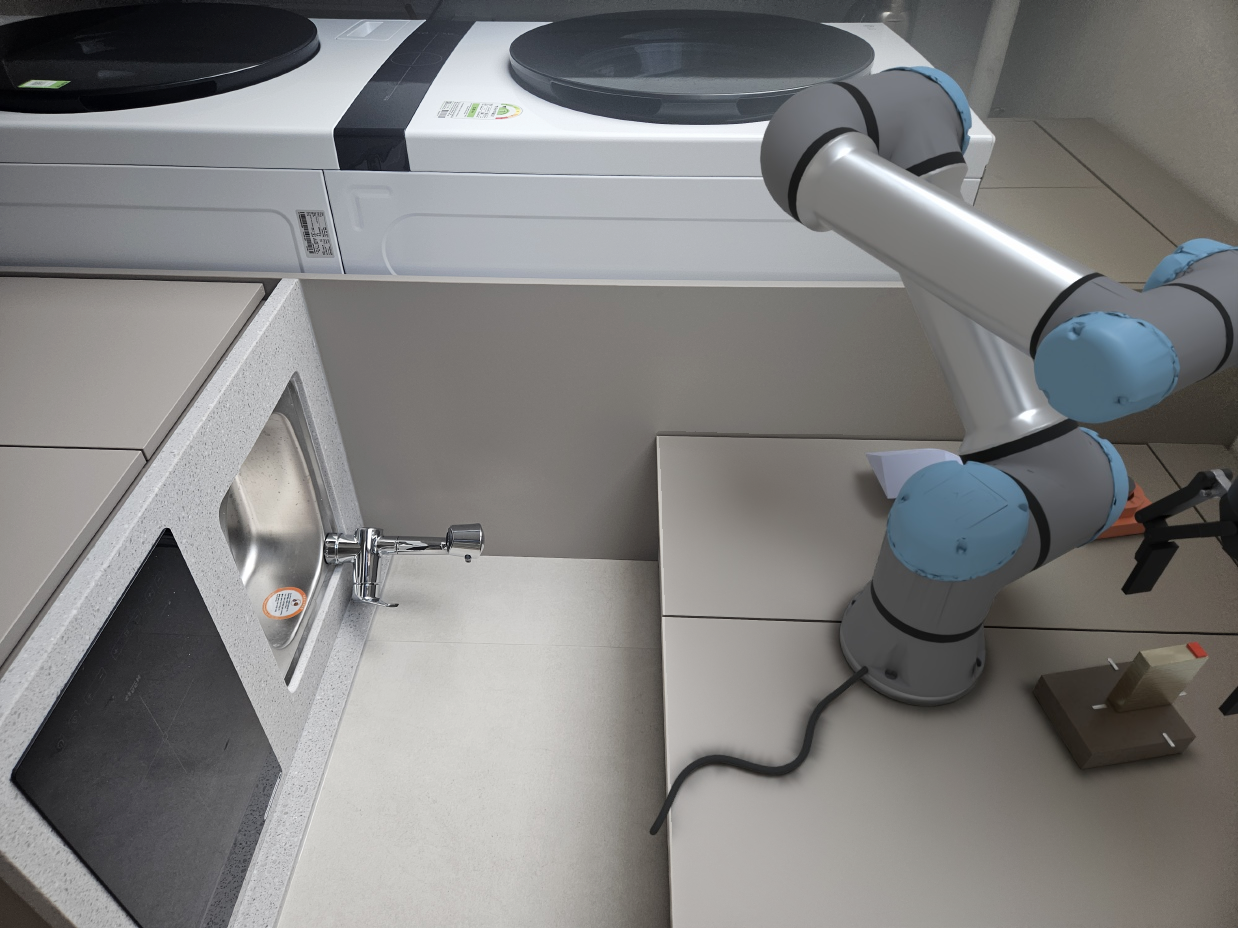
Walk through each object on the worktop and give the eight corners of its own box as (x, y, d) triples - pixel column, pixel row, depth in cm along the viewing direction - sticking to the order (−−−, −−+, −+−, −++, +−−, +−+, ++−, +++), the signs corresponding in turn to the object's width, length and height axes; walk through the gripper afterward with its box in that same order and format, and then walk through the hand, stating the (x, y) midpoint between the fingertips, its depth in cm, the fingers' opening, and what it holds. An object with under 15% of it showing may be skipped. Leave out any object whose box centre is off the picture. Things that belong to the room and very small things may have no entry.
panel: (1084, 775, 79) (1096, 758, 77) (1028, 685, 86) (1038, 668, 84) (1206, 754, 80) (1221, 738, 78) (1141, 668, 88) (1153, 651, 86)
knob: (1117, 712, 80) (1152, 664, 75) (1106, 697, 82) (1140, 648, 76) (1172, 704, 81) (1211, 655, 75) (1160, 688, 82) (1197, 640, 77)
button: (1108, 503, 102) (1113, 493, 100) (1089, 482, 105) (1094, 472, 103) (1137, 500, 102) (1143, 489, 101) (1117, 479, 105) (1123, 469, 104)
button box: (1087, 540, 102) (1099, 518, 99) (1048, 492, 109) (1058, 470, 106) (1159, 530, 103) (1173, 508, 100) (1116, 483, 110) (1128, 461, 107)
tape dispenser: (882, 517, 106) (978, 508, 106) (893, 479, 101) (993, 471, 102) (860, 471, 112) (950, 464, 113) (869, 434, 108) (963, 426, 109)
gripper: (1511, 597, 52) (1326, 763, 66) (1231, 379, 71) (1133, 544, 85) (1409, 613, 51) (1244, 777, 65) (1153, 388, 70) (1068, 553, 84)
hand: (1181, 646), depth 75 cm, fingers open, 13 cm apart
